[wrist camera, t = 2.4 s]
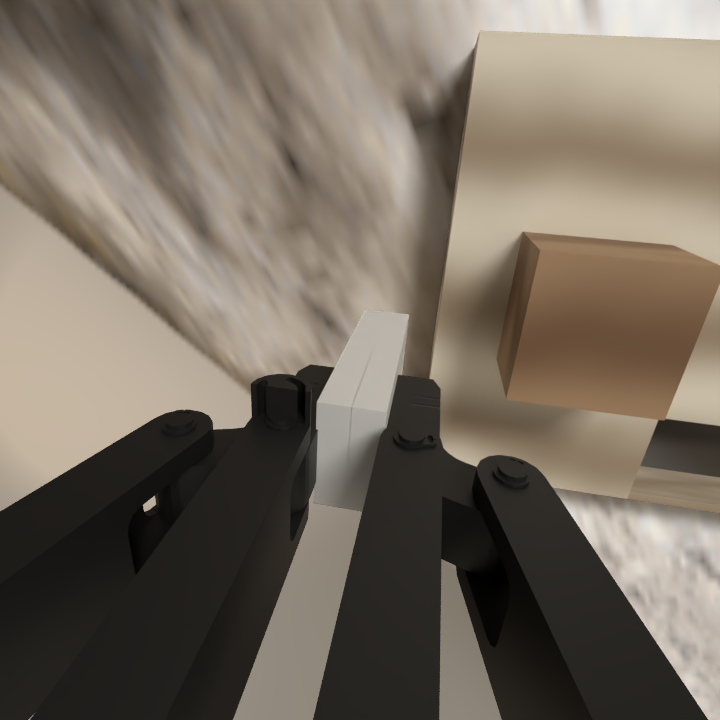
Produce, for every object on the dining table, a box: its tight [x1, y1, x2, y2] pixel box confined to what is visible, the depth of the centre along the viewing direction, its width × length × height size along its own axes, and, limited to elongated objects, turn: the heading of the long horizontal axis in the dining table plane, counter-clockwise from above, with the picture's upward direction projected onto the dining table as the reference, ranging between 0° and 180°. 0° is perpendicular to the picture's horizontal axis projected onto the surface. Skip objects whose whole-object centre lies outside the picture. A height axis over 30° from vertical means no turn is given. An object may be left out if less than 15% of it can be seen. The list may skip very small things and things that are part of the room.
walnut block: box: [497, 232, 720, 421], centre depth 19 cm, size 6×6×4 cm
